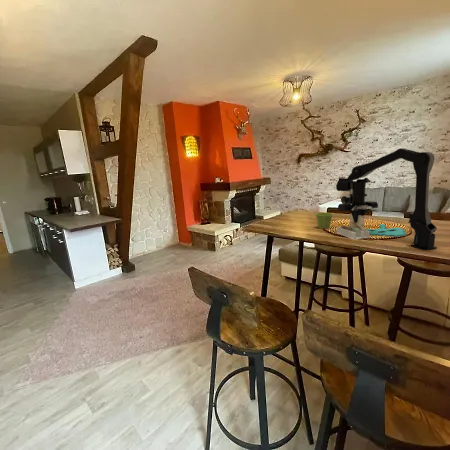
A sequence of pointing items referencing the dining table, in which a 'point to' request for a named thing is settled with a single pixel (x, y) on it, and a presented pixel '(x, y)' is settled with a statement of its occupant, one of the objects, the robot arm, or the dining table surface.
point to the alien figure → (387, 231)
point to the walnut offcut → (346, 227)
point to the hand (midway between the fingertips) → (356, 222)
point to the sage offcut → (356, 231)
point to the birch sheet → (359, 222)
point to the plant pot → (324, 219)
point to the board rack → (352, 233)
